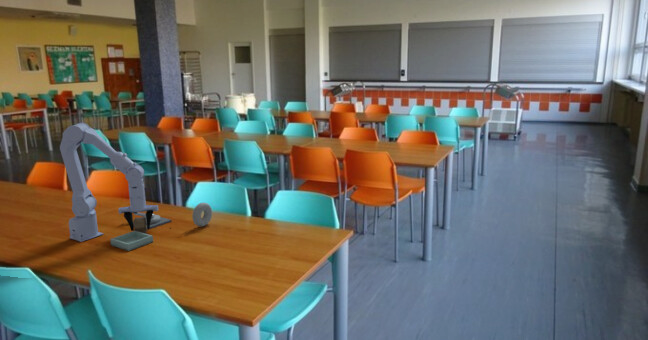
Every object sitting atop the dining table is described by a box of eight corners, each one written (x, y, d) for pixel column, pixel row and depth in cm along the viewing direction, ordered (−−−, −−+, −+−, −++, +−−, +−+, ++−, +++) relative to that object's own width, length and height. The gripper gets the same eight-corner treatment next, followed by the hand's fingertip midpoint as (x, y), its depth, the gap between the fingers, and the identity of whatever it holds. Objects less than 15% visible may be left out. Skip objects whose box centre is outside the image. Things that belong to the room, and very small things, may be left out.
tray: (128, 251, 174) (128, 244, 173) (111, 245, 179) (110, 239, 179) (153, 241, 182) (152, 235, 182) (135, 236, 188) (135, 230, 187)
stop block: (145, 234, 190) (144, 220, 189) (134, 235, 190) (133, 220, 188) (147, 231, 194) (145, 216, 193) (136, 231, 193) (135, 217, 192)
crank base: (147, 229, 196) (147, 224, 195) (129, 224, 202) (128, 219, 202) (171, 221, 206) (171, 216, 205) (153, 216, 212) (152, 211, 211)
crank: (155, 216, 204) (154, 206, 203) (150, 218, 201) (149, 208, 200) (135, 213, 208) (134, 203, 208) (129, 215, 206) (128, 205, 205)
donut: (197, 230, 194) (196, 206, 192) (191, 229, 196) (189, 205, 194) (214, 223, 203) (213, 200, 201) (208, 221, 205) (206, 199, 202)
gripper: (157, 192, 194) (160, 224, 197) (119, 194, 191) (123, 227, 194) (155, 197, 187) (158, 230, 190) (116, 199, 184) (119, 233, 187)
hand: (140, 229), depth 192 cm, fingers open, 5 cm apart
